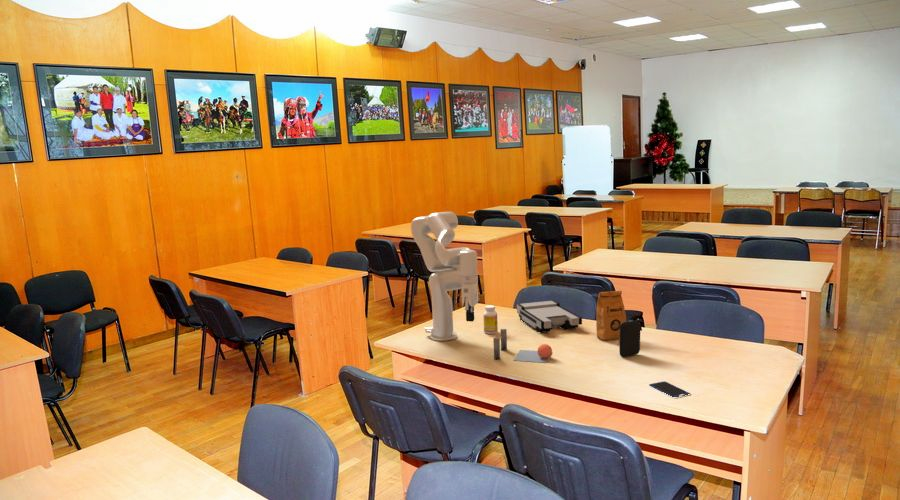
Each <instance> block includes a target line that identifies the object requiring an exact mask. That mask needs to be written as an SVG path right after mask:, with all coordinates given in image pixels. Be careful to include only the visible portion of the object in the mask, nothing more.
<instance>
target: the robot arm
mask: <svg viewBox="0 0 900 500" xmlns="http://www.w3.org/2000/svg"><path fill="white" fill-rule="evenodd" d="M458 219H459V218H458V217H457V215H456V214H455V212H453V211H440V212H437V211H436V212H433V213H430V214H429V215H425V216H424V215H423V216H418V217H415V218H414V219H412V221H411V223H410V231H411V235H412V238H413V240H414V241H415V243H416V244H417V247H418V248H419V250H420V253H421V256H422V259H423V261H424V264H425V266H426V268H427V270H428V271H429V272H432V273H431V274H430V276H429V278H428V284H429V289H430V295H431V310H432V327H424V331H425V333H426V334H430V335H429V338H430V339H431V340H433V341H440V342H441V341H442V342H444V341H452V340H455V339H457V337H458V336H457V335H458V333H456V332H455V331H454V317H453V316H454V313H453V312H454V311H453V300H452V297H451V296H450V295H449V293H448V292H450V291H456V290H460V289H461V305H462V307H464V310H465V320H466V322H471V323H473V322H474V321H475V306H476V305H477V304H478V303H479V289H478V287H479V286H478V283H479V276H478V275H479V273H478V270H479V269H478V252H477V251H476V250H474V249H470V248H469V247H465V246H464V247H454V248H446V246H448V245H449V244H451V242H453V241H454V239H455V236H456V232H455V229H456V228H457V227H458V224H459V220H458ZM429 234H433V235H434V237H435V239H436V240H435V239H434V238H433V237H431V236H430V235H429Z"/></svg>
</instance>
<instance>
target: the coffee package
mask: <svg viewBox="0 0 900 500" xmlns="http://www.w3.org/2000/svg"><path fill="white" fill-rule="evenodd" d="M622 294H623V291H622V290H613V291H600V292H599V293H598V295H597V296H598V297H597V301H596V324H595V325H596V337H597V338H599V339H600V340H603V341H611V340H613V341H614V340H615V341H616V340H620V325H621V323H623V322H627V314H626V310H625V305H624V300H623V297H622Z"/></svg>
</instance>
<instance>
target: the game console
mask: <svg viewBox="0 0 900 500" xmlns="http://www.w3.org/2000/svg"><path fill="white" fill-rule="evenodd" d="M560 304H561V303H559V302H558V301H556V300H547V301H546V300H545V301H537V302H536V301H534V302H526V303H517V304H516V313H517V314H518V317H519V320H520V321H521V320H522V321H523V323H524V322H525V323H526V324H525V323H524V324H525V325H527V326H528V325H529V326H528V327H530V328H531V327H532V328H531V329H533V330H534V331H535V330H536V331H535V332H537V333H538V332H541V333H548V331H550V332H551V331H553V327H558V328H560V327H561V328H560V329H562V330H563V331H567V329H568V330H576V328H578V327H579V325H583V318H582V317H581V316H579V315H578V314H576V313H574V312H572V311H571V310H569V309H567V308H565V307H563V306H561V305H560ZM522 321H521V322H522Z"/></svg>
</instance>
